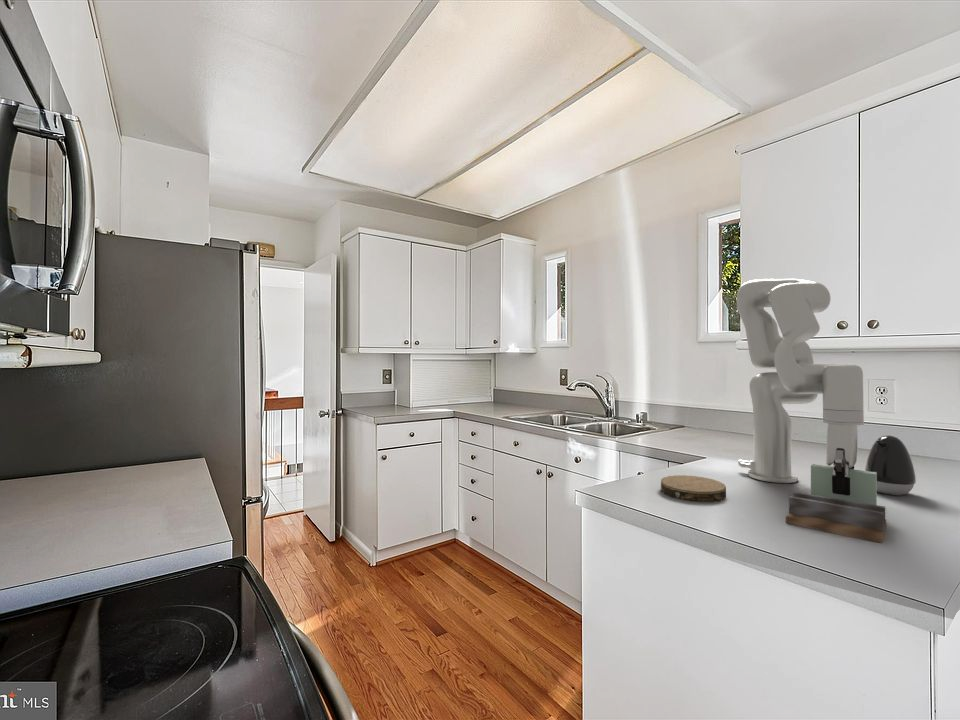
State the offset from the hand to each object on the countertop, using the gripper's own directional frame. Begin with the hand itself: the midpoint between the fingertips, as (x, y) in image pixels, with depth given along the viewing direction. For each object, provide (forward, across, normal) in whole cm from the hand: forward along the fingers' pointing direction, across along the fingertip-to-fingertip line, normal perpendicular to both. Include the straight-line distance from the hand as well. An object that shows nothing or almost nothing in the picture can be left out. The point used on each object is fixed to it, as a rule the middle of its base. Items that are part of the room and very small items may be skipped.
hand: (844, 489), depth 108 cm
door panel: (+5, 0, 0) cm, 5 cm away
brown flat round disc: (+5, +9, -31) cm, 33 cm away
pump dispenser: (+5, -26, +7) cm, 28 cm away
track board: (+5, +12, 0) cm, 13 cm away
